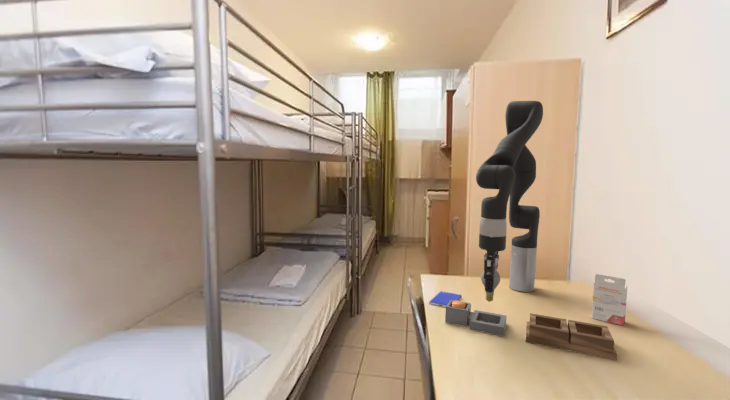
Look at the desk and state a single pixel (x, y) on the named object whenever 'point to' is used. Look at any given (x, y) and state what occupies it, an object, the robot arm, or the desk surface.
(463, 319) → the bulb socket block
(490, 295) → the light bulb
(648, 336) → the desk surface
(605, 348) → the bulb rack
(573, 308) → the desk surface
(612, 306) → the ink cartridge box
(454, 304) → the orange ball
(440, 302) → the blue book
